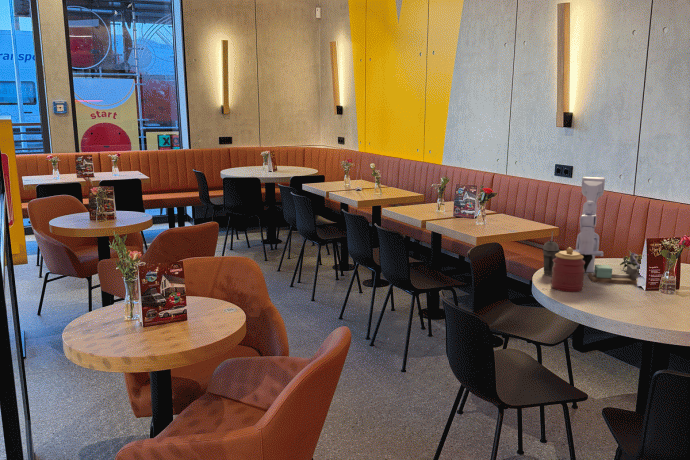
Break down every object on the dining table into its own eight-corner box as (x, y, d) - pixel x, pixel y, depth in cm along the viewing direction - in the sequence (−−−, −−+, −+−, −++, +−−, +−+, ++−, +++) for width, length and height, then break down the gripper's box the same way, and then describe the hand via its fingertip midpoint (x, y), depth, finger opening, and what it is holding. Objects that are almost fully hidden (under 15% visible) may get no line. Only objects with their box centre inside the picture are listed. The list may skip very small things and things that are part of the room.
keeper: (597, 277, 264) (597, 267, 263) (593, 273, 270) (594, 264, 269) (611, 278, 263) (612, 268, 262) (608, 274, 269) (608, 265, 268)
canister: (581, 284, 259) (584, 245, 255) (584, 293, 247) (588, 252, 243) (549, 282, 262) (552, 243, 259) (551, 291, 250) (554, 250, 246)
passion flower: (638, 284, 278) (641, 268, 270) (614, 276, 285) (616, 260, 276) (647, 267, 283) (650, 251, 275) (624, 260, 290) (626, 243, 281)
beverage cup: (539, 275, 274) (542, 232, 270) (542, 271, 280) (545, 229, 276) (556, 277, 270) (559, 233, 267) (558, 273, 277) (561, 231, 273)
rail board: (593, 282, 263) (594, 267, 262) (587, 276, 272) (589, 262, 271) (636, 284, 260) (638, 269, 259) (630, 277, 270) (631, 263, 268)
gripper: (571, 242, 262) (568, 272, 265) (606, 243, 260) (603, 274, 262) (568, 239, 269) (565, 268, 272) (602, 240, 267) (599, 270, 269)
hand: (584, 271), depth 267 cm, fingers closed
